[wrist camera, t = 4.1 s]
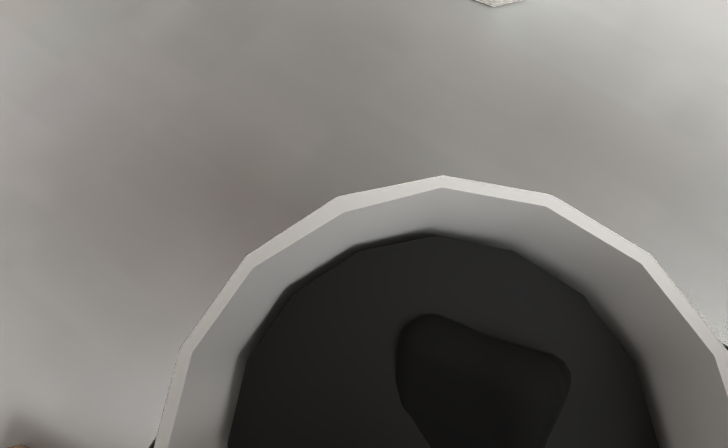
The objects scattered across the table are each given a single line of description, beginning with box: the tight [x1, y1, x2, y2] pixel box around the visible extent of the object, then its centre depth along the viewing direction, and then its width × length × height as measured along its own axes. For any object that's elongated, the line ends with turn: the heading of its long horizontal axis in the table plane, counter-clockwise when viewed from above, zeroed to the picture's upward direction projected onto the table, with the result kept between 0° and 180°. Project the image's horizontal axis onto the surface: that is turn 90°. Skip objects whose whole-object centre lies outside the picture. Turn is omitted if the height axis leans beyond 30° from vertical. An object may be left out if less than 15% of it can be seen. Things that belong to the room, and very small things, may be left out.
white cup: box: [154, 175, 728, 448], centre depth 11 cm, size 7×7×10 cm
